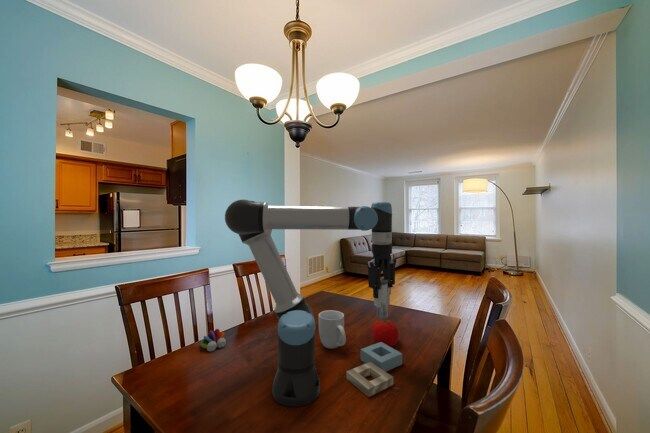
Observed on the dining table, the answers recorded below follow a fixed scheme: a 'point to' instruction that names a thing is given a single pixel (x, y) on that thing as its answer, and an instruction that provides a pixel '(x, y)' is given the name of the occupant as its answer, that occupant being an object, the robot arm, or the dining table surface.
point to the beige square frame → (373, 386)
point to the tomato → (385, 332)
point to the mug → (331, 329)
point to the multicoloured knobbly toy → (213, 340)
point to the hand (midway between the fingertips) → (382, 304)
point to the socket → (381, 356)
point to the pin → (383, 299)
